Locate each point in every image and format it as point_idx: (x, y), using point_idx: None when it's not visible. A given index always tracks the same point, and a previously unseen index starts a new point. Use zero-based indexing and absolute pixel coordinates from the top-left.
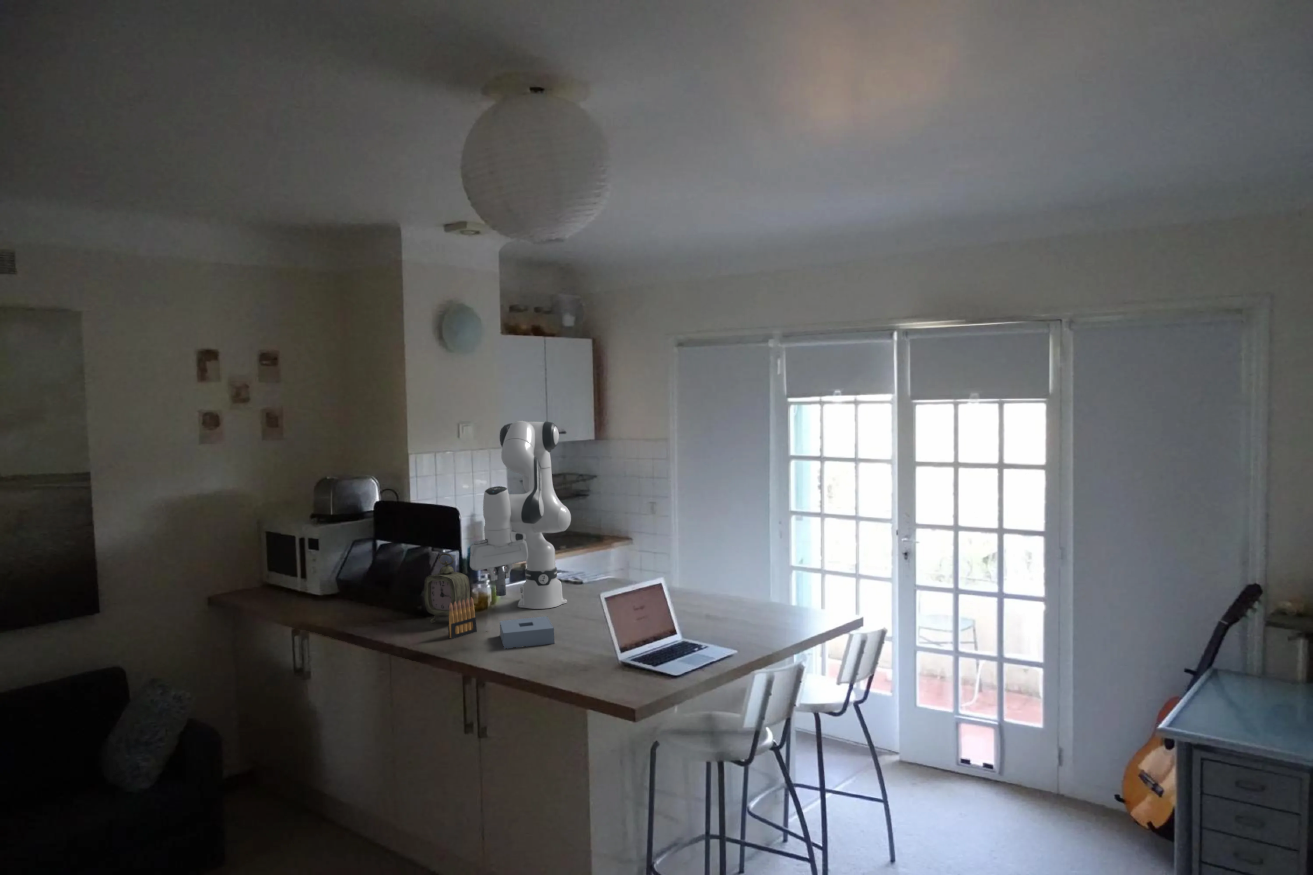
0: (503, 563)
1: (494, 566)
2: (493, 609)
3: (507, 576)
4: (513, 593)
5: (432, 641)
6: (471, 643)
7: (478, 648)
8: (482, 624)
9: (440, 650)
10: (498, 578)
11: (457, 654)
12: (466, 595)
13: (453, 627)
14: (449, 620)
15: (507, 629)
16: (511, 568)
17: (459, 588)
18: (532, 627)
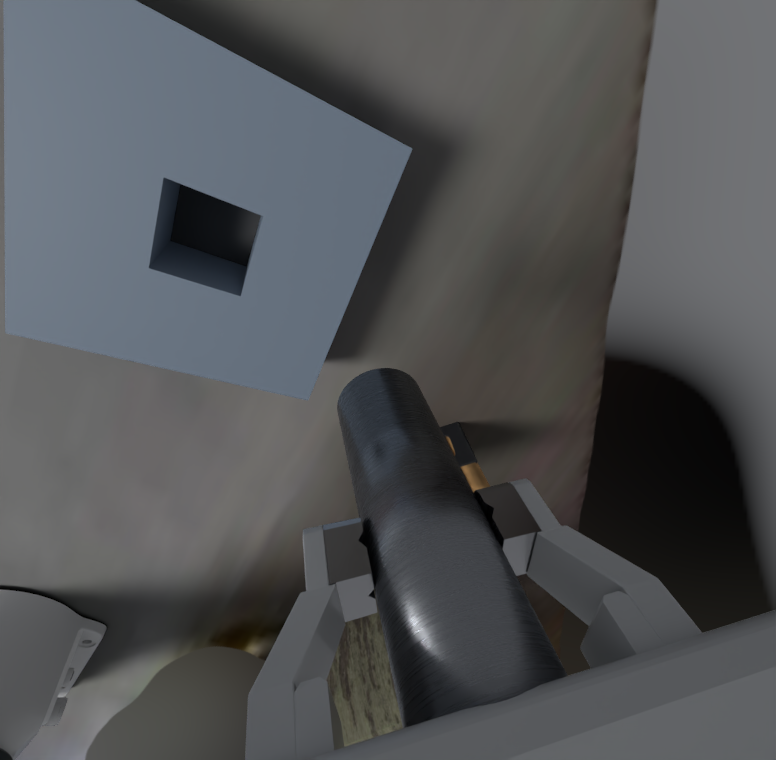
0: (504, 753)
1: (684, 655)
2: (196, 627)
3: (338, 535)
4: (82, 725)
5: (512, 429)
6: (444, 332)
7: (467, 243)
8: (295, 515)
9: (565, 320)
10: (474, 501)
11: (570, 222)
12: (340, 640)
13: (464, 451)
14: (484, 476)
15: (352, 214)
16: (267, 662)
17: (381, 667)
18: (190, 128)
